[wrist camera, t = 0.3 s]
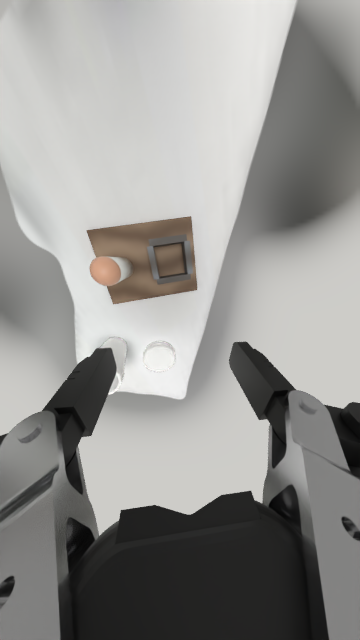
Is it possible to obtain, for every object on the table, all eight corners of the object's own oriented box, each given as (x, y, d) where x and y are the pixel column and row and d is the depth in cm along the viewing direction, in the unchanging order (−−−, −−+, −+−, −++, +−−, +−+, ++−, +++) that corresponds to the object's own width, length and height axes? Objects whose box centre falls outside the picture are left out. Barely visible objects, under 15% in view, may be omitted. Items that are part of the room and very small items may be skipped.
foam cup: (114, 326, 38) (94, 356, 26) (138, 345, 42) (130, 379, 30) (92, 346, 40) (63, 382, 28) (117, 363, 43) (102, 401, 31)
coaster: (170, 366, 47) (171, 374, 44) (141, 363, 45) (139, 371, 42) (178, 343, 44) (179, 349, 40) (147, 337, 41) (146, 344, 38)
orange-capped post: (110, 259, 30) (78, 258, 18) (130, 256, 30) (111, 253, 19) (116, 279, 32) (91, 290, 20) (135, 276, 32) (121, 285, 20)
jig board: (89, 231, 29) (75, 225, 24) (189, 217, 30) (195, 210, 25) (114, 302, 35) (107, 309, 31) (196, 288, 37) (201, 293, 32)
